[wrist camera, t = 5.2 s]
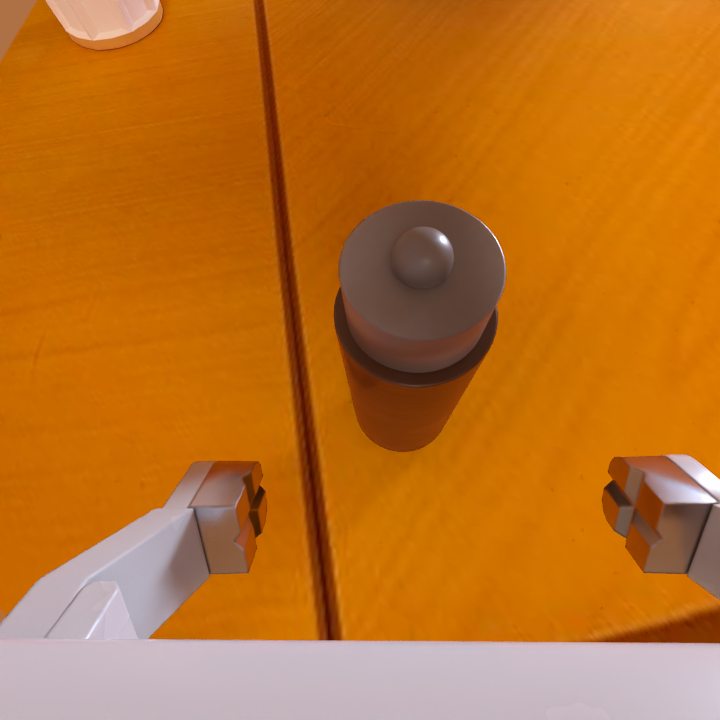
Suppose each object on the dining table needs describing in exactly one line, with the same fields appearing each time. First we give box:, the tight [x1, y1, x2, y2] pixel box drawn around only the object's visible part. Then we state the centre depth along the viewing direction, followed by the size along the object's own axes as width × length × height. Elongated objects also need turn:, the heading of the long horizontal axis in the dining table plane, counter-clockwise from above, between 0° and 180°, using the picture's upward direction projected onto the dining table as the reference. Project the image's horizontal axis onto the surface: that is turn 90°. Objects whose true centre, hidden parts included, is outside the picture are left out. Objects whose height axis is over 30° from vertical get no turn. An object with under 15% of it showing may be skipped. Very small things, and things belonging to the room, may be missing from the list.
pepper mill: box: [334, 200, 506, 452], centre depth 16 cm, size 5×5×14 cm
